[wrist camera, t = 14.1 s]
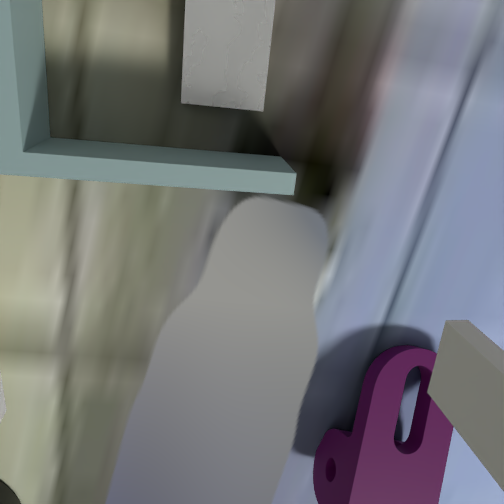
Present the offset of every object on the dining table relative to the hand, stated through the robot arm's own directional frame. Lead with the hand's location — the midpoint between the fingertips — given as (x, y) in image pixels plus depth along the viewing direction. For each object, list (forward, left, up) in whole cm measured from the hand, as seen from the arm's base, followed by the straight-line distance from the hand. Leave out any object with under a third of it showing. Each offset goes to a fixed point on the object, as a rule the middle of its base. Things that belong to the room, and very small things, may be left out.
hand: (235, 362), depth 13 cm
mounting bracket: (+20, -24, -25) cm, 40 cm away
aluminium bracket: (+1, +10, -25) cm, 27 cm away
